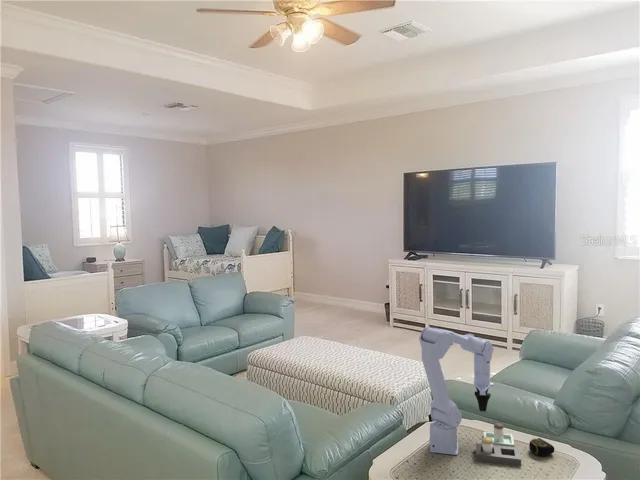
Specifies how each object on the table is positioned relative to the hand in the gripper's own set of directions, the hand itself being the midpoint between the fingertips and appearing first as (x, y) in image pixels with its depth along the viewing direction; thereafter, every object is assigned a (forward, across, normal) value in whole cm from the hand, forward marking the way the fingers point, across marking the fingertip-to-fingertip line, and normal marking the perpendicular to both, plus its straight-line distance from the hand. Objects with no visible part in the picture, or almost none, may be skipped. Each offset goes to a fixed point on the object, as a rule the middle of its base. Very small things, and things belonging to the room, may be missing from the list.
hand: (482, 406), depth 181 cm
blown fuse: (+10, -6, -5) cm, 13 cm away
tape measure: (+11, -10, -19) cm, 24 cm away
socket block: (+10, -17, -4) cm, 20 cm away
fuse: (+10, -17, -1) cm, 20 cm away
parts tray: (+10, -6, -5) cm, 13 cm away
